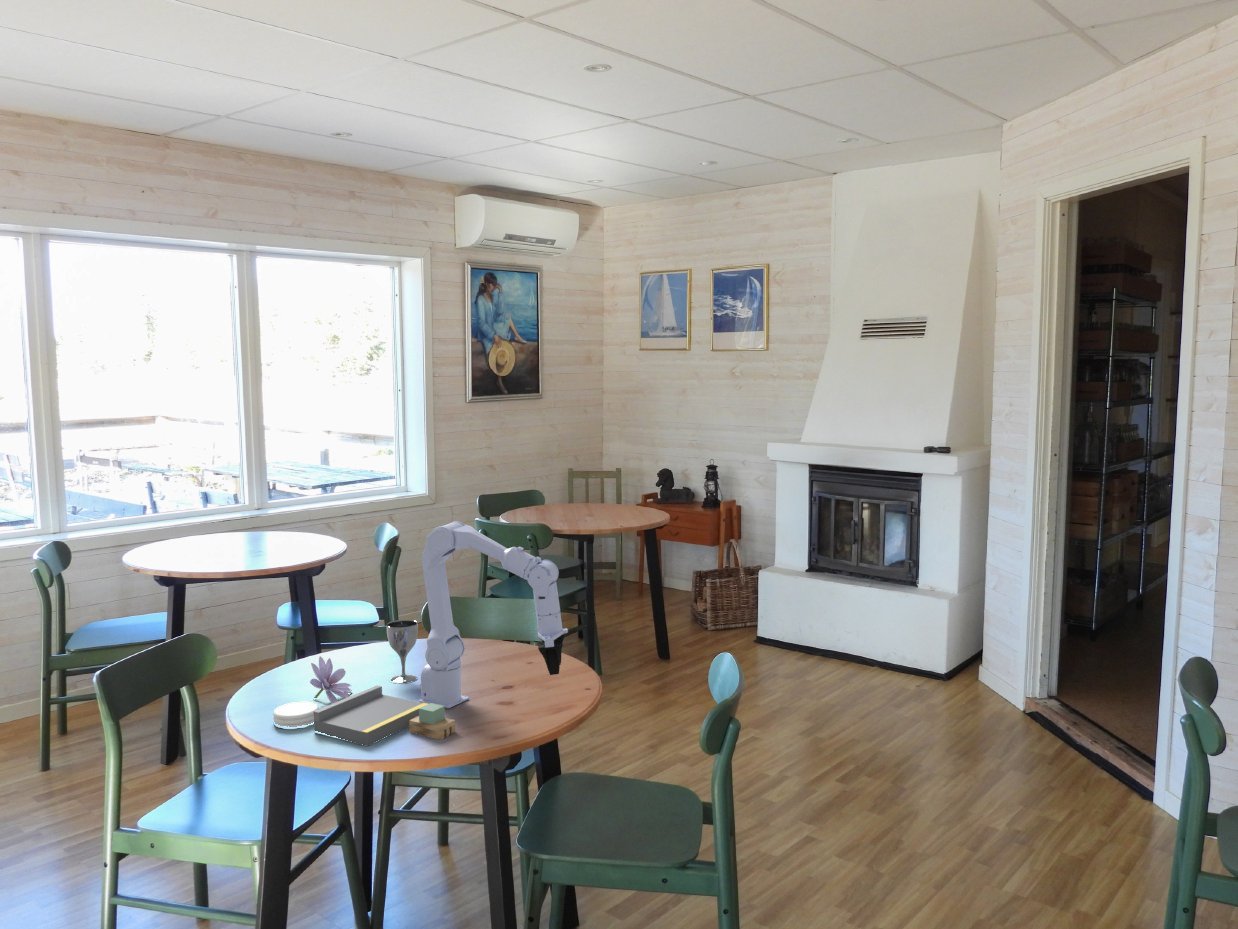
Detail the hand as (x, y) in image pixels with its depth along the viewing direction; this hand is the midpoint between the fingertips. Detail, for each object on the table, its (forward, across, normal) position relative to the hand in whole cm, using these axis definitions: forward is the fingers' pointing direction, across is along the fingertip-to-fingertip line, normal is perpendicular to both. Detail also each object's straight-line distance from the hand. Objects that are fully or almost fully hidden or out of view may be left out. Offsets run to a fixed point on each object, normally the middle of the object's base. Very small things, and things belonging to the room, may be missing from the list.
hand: (555, 669), depth 221 cm
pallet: (+8, -11, +28) cm, 31 cm away
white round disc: (+4, -4, +61) cm, 61 cm away
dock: (+6, -6, +42) cm, 43 cm away
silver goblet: (+5, +26, +42) cm, 50 cm away
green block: (+5, -11, +28) cm, 30 cm away
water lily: (+4, +10, +56) cm, 57 cm away
